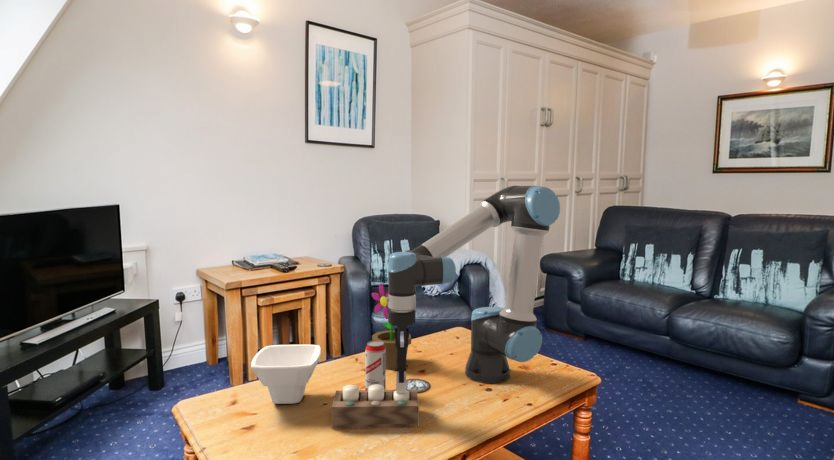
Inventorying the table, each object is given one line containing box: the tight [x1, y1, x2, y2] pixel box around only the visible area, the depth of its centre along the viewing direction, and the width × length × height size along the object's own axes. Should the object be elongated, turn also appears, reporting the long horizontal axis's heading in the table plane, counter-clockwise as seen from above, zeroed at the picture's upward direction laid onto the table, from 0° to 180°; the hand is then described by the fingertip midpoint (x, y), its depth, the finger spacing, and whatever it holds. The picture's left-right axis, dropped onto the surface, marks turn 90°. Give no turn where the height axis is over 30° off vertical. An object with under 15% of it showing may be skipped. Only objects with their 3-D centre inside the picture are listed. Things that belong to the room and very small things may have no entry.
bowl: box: [250, 343, 322, 405], centre depth 143 cm, size 19×19×14 cm
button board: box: [331, 389, 420, 430], centre depth 132 cm, size 23×10×6 cm, turn 93°
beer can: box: [364, 340, 387, 390], centre depth 147 cm, size 6×6×16 cm
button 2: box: [394, 389, 409, 400], centre depth 133 cm, size 4×4×5 cm
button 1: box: [342, 384, 360, 401], centre depth 132 cm, size 4×4×5 cm
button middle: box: [368, 384, 384, 401], centre depth 133 cm, size 4×4×5 cm
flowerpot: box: [371, 283, 412, 371], centre depth 171 cm, size 14×14×30 cm
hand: (401, 391), depth 133 cm, fingers closed
